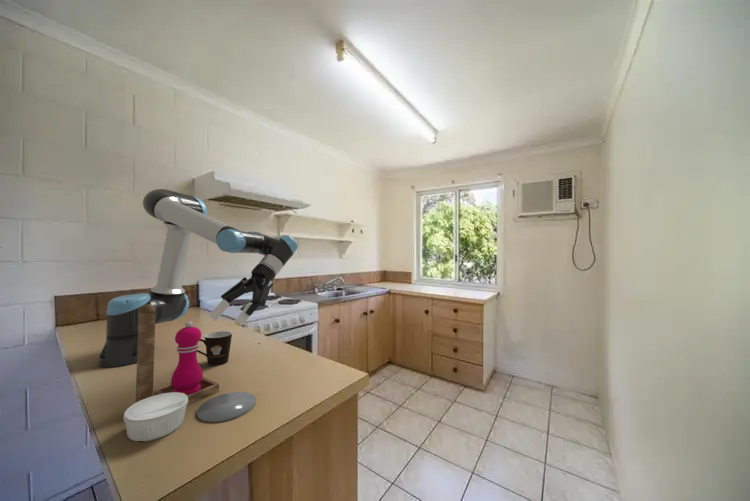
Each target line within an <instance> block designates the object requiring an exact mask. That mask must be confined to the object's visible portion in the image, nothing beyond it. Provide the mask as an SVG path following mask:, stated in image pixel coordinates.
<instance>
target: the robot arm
mask: <svg viewBox="0 0 750 501" xmlns="http://www.w3.org/2000/svg"><path fill="white" fill-rule="evenodd" d="M142 206H143V208H144V211H145V213H147V215H149V216H151V217H152V218H154V219H157V220H158V221H160V222H163V225H164V226H166V233H165V238H164V240H165V241H164V244H163V251H162V255H161V259H160V260H161V261H160V265H159V271H158V275H157V280H156V285H154V286H153V287H151V288H150V292H149V293H147V292H140V293H137V292H136V293H131V294H124V295H120V296H116V297H113V298H112V299H110V300H108V303H107V309H106V311H105V312H106V331H105V332H106V333H105V335H106V338H105V343H104V345H103V347H102V349H101V352H100V354H99V356H98V359H97V360H98V361H97V363H98V366H99V367H101V368H102V367H103V368H108V367H109V368H113V367H122V366H128V365H133V364H137V346H138V316H139V308H140V307H141V306H143V305H145V304H151V305H153V306H154V307H155V309H156V310H155V325H159V324H163V323H168V322H173V321H175V320H177V319H180V318H182V317H184V315H186V314H187V312H188V310H189V307H190V300H189V296H188V295H187V294H186V290H185V289H184V288H183V287H182V286H183V282H184V277H185V271H186V266H187V261H188V256H189V253H190V252H189V251H190V247H191V242H192V236H193V234H195V235H197V236H199V237H201V238H203V239H205V240H208V241H209V242H211V243H214V244H216V245H217V247H218V248H219V249H220V251H222V252H226V253H229V254H230V253H231V254H236V253H239V254H242V253H243V254H259V255H262V256H264V257H262V259H261V260H260V261H259V262H258V264H257V265H256V266H255V267H254V268H253V269H252V270H251V272H250V273H251V277H250V278H247V277H245V276H244V277H243V278H242V279H241V280H240V281H239V282H237V283H236V284H234V285H233V286H232V287H230V288H229V289H228V290H227V291H226V292H224V293H223V294H221V295H220V298H221V299H222V300H221V301H220V302H219V303H218V305H216V307H215V308H214V309H213V310H212V311H211V312H210V314H209V315H208V317H210V318H212V320H214V321H217V320H218V319H219V318H220V317H221V316H222V314H224V312H225V311H227V309H228V308H229V306H231V303H232V302H233V301H235V300H237V299H238V298H240V297H241V296H243V295H245V294H248V293H252V297H251V300H250V302H248V304H246V306H245V307H244V308H243V310H242V311H241V312H240V314H239V315H238V316H237V317H236V318H235V320H234V321H235V322H236V323H237V324H238V326H241V327H243V326H244V324H245V323H246V322H247V320H248V319H249V318H250V317H251V315H253V313H254V312H255V311H256V310H257V309H258V308H259V307H262V308H263V307H265V305H266V303H267V300H268V297H269V294H270V291H271V288H272V287H273V285H274V283H273V281H274V279H275V278H276V277H277V276H278V274H279V273H280V271H281V270H282V268H284V266H285V265H286V264H287V263H288V261H289V260H290V259H291V258H292V257H293V256H294V254H295V253H296V251H297V249H298V243H297V241H296V240H295V238H293V237H291V236H289V235H282V236H280V237H279V238H275V237H272V236H269V235H266V234H263V233H260V232H259V231H258V232H257V231H254V230H250V231H245V230H244V231H243V230H239V229H237V228H235V227H232V226H231V225H229V224H226V223H224V222H222V221H221V220H218V219H215V218H213V217H211V216H209V215H208V210H207V207H206V206H207V205H206V204H205V203H204V202H203V200H202V199H201V198H198V197H195V196H194V195H191V194H190V195H189V194H185V193H182V192H178V191H174V190H170V189H164V188H157V189H156V188H155V189H153V190H151V191H149V192H147V193H146V194H145V196H144V197H143V200H142Z"/></svg>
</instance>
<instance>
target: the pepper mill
mask: <svg viewBox="0 0 750 501" xmlns="http://www.w3.org/2000/svg"><path fill="white" fill-rule="evenodd" d="M193 325H194V324H193V321H191V320H190V321H186V322H185V324H184V326H185V327H183V328H181V329H179V330H178V331H177V332H176V333H175V337H174V341H175V343H176V344H177V346H176V349H177V350H176V352H177V353H178V362H177V366H176V368H175V370H174V371H173V373H172V376H171V380H170V384H171V385H172V387H174V388H175V389H174V390H173V392H178V393H184V394H186V395H189V394H192V393H194V392H197V391H199V390H202V389H201V387H202V386H201V385H200V384H199V383H200V381H201V380H202V378H203V377H204V376H203V375H204V374H203V369H202V367H201V366H200V364H199V362H198V358H197V356H198V355H197V353H198V352H197V350H199V349H200V347H199V346H200V343H199V342H200V341H199V340H200V339H202V332H201V330H200V328H198V327H196V326H193Z"/></svg>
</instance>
